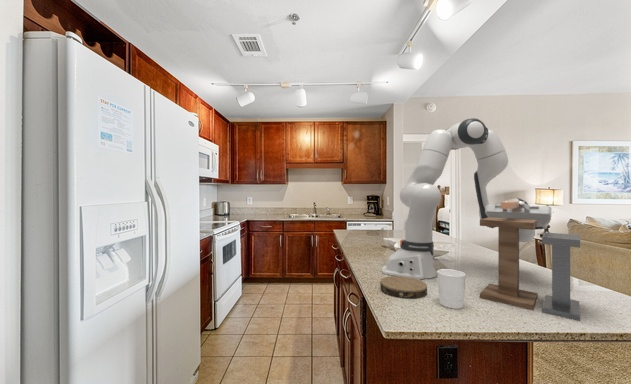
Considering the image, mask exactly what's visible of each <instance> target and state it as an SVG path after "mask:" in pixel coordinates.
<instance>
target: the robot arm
mask: <svg viewBox="0 0 631 384" xmlns="http://www.w3.org/2000/svg"><path fill="white" fill-rule="evenodd" d="M462 148H470V149H471V150H472V152H473V154H474V157H475V159H476V161H477V169H476V170H475V172H474V173H473V181H474V187H475V194H476V197H477V204H478V209H479V210H478V213H479V214H478V215H479V221H480V220H481V219H484V218H488V217H495V218H513V219H532V220H538V226H537V227H536V228H535V229H533V230H532V229H519V243H529V242H532V240H534V238H535V236H536V230H546V229H548V225H549V224H550V223H551V220H552V207H551V206H550V205H530V204H529V203H528V202H527V201H525V200H524V199H522V198H519V197H516V198H511V199H506V200H504V201H503V202H507V201H519V207H517V208H514V209H501V202H502V201H501V202H497V203H494V204H490V203H489V199H488V198H489V197H488V193H487V186H488V184H490V182H491V181H492V180H494V178H496V177H497V176H499V175H500V174H501V173H502V172H504V171H505V169H507V167H508V165H509V157H508V154H507V152H506V148H505V146H504V144H503V142H502V141H501V139H500V137H499V136H498V134H497V133H496V132H495V130H492V129H488V127H487V126H486V125H485V123H484V122H483V121H482V120H480V119H478V118H473V117H472V118H467V119H465V120H463V121H461V122H460V121H459V122H457V123H455V124H452V126H450V127H448V128H447V129H435V130H433V131H431V132H430V133H429V135H428V137H427V138H426V141H425V142H424V144H423V146H422V149H421V152H420V154H419V156H418V159H417V161H416V165H415V167H414V169H413V171H412V173H411V174H410V176H409V177H408V180H407V181H406V183H405V185H404V186H403V188H402V189H401V191H400V193H399V199H400V201H401V203H402V204H404V205H405V206H406V207H408V209H409V210H408V215H407V218H406V220H405V223H404V224H405V225H404V226H405V227H404V228H405V229H404V230H405V232H404V236H405V237H404V238H405V239H404V238H402V239H401V240H400V241H399V243H400V244H399V246H400V248H398V249H397V250H396V251H395V252H393V253H391V254H390V255H389V256H388V258H387V261H386V262H387V263H386V264H385V265H383V266H382V267H381V273H382V274H384V275H389V276H402V277H410V278H415V279H418V280H423V279H432V278H435V277H438V274H437V272H436V269H435V263H434V262H435V261H434V253H435V250H434V249H435V245H434V241H433V231H434V230H433V225H434V218H435V214H436V211H437V207H438V206H439V204H440V203H441V201H442V193H441V191H440V189H439V188H438V187H437V186H435V185H434V184H436V182H437V181H438V179H439V178H440V177H441V176H442V174H443V171H444V169H445V167H446V164H447V161H448V158H449V156H450V152H451V150H454V151H455V150H459V149H462ZM486 227H487V228H490V229H495V228H496V227H491V226H486Z"/></svg>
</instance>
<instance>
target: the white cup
mask: <svg viewBox="0 0 631 384" xmlns="http://www.w3.org/2000/svg"><path fill="white" fill-rule="evenodd" d="M436 273H437V287H438V289H437V290H438V301H439V303H438V304H440V305H441V306H443V307H445V308H449V309H455V310H457V309H458V310H460V309H462V308H463V309H464V302H465V301H464V299H465V294H466V293H465V289H466V276H467V275H466V273H465V272H463V271H460V270H456V269H450V268H449V269H447V268H444V269H443V268H442V269H438V270H437V272H436Z"/></svg>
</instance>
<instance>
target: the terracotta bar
mask: <svg viewBox="0 0 631 384" xmlns="http://www.w3.org/2000/svg"><path fill="white" fill-rule="evenodd" d="M506 201H507V200H506ZM517 207H519V201H507V202H504V201H501V209H514V208H517Z"/></svg>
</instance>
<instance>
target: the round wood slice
mask: <svg viewBox="0 0 631 384" xmlns="http://www.w3.org/2000/svg"><path fill="white" fill-rule="evenodd" d="M380 292H382V293H384V294H385V295H387V296H390V297H393V298H398V299H403V300H405V299H406V300H415V299H416V300H417V299H422V298H425V297H426V296H427V295H428V284H427V283H426V282H425V281H423V280H422V279H420V280H418V279H415V278H410V277H402V276H394V275H390V276H387V277H383V278H382V279H380Z"/></svg>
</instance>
